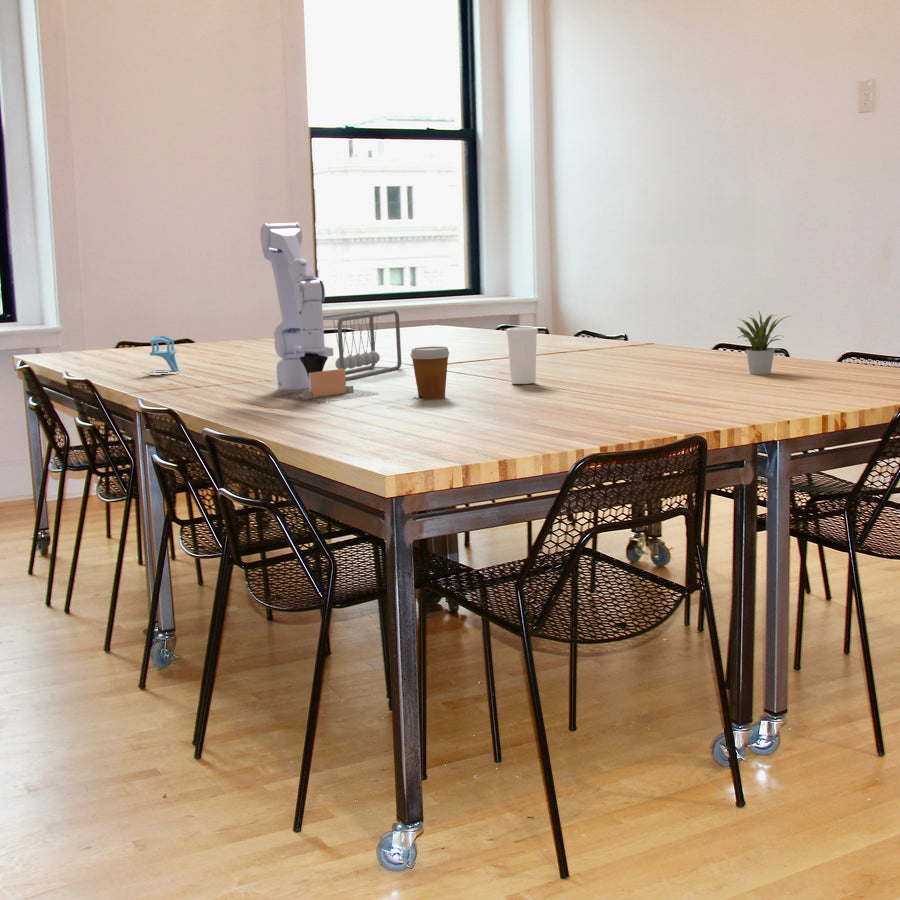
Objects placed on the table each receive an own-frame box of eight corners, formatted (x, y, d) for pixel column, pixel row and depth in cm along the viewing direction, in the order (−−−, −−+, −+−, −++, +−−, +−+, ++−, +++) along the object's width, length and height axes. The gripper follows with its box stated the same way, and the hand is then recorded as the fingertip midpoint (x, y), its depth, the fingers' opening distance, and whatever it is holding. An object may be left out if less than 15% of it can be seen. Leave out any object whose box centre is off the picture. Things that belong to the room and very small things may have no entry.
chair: (175, 375, 341) (172, 336, 338) (148, 376, 341) (145, 337, 339) (181, 372, 348) (178, 334, 346) (155, 373, 348) (152, 335, 346)
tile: (310, 397, 270) (308, 372, 269) (344, 392, 276) (342, 368, 275) (312, 397, 269) (311, 373, 268) (346, 392, 275) (344, 368, 274)
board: (269, 400, 275) (268, 390, 274) (335, 390, 288) (334, 380, 287) (319, 408, 258) (318, 397, 258) (387, 397, 271) (386, 387, 271)
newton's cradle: (343, 382, 306) (339, 317, 303) (313, 381, 311) (309, 317, 308) (402, 369, 331) (399, 309, 328) (373, 368, 337) (370, 309, 333)
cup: (537, 385, 281) (535, 329, 278) (505, 386, 283) (503, 330, 280) (541, 381, 289) (539, 326, 286) (510, 381, 291) (508, 327, 288)
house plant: (787, 369, 292) (788, 306, 289) (798, 375, 279) (799, 310, 276) (732, 370, 294) (732, 308, 291) (740, 377, 280) (741, 312, 277)
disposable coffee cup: (417, 401, 262) (415, 351, 260) (408, 397, 271) (405, 348, 269) (456, 398, 264) (454, 348, 262) (445, 394, 273) (443, 345, 271)
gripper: (282, 329, 276) (286, 383, 279) (314, 331, 266) (318, 387, 268) (305, 327, 281) (309, 380, 283) (338, 329, 270) (342, 384, 273)
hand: (315, 383), depth 276 cm, fingers closed
